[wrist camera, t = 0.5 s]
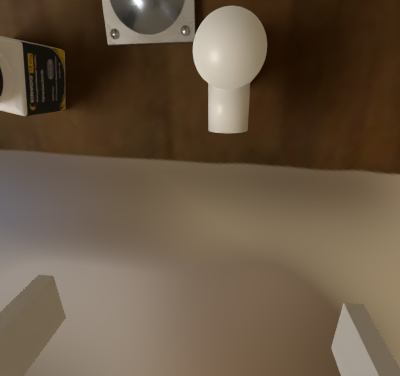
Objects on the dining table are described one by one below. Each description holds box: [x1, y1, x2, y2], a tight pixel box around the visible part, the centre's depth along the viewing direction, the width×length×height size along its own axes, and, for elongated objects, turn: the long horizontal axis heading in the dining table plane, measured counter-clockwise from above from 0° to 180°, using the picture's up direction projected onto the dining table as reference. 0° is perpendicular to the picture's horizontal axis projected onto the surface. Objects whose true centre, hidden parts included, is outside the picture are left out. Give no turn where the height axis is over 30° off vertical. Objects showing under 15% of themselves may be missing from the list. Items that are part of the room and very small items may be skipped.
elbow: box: [193, 6, 267, 133], centre depth 24 cm, size 9×6×10 cm, turn 1°
